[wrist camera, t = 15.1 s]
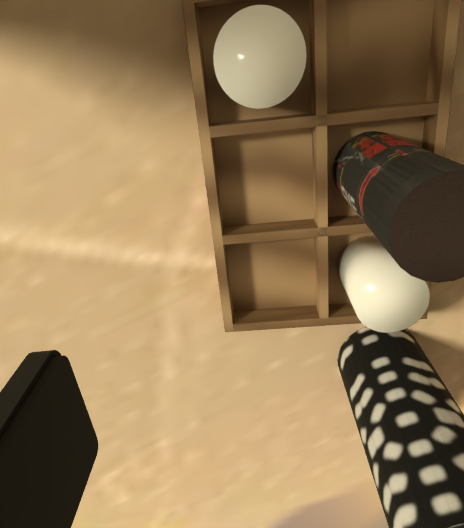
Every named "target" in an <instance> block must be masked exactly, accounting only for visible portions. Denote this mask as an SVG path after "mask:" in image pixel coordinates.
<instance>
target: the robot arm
mask: <svg viewBox="0 0 464 528" xmlns="http://www.w3.org/2000/svg"><path fill="white" fill-rule="evenodd" d="M97 451H98V440H97V436H96V434H95V431H94V428H93V425H92V422H91V420H90V417H89V414H88V411H87V409H86V406H85V403H84V400H83V398H82V395H81V392H80V389H79V387H78V384H77V381H76V378H75V376H74V373H73V370H72V367H71V365H70V362H69V360H68V358H67V357H66V356H61V354H60V353H59V352H58V351H56V350H51V351H41V352H32V353H29V354H28V355H27V356H26V358H25V359H24V360H23V362H22V363H21V365H20V366H19V367H18V369H17V370H16V371H15V373H14V374H13V376H12V377H11V378H10V380H9V381H8V382H7V384H6V385H5V387H4V388H3V389H2V391H1V392H0V528H71V526H72V523H73V520H74V517H75V515H76V512H77V509H78V506H79V503H80V501H81V498H82V495H83V492H84V489H85V487H86V484H87V481H88V478H89V475H90V473H91V470H92V467H93V464H94V461H95V459H96V456H97Z"/></svg>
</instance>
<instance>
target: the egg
mask: <svg viewBox="0 0 464 528" xmlns="http://www.w3.org/2000/svg"><path fill="white" fill-rule="evenodd" d="M213 61H214V69H215V73H216V77H217V79H218V82H219V84H220V85H221V87H222V89H223V90H224V91H225V93H226V94H227V95H228V96H229V97H230V98H231V99H233V100H234V101H235V102H237V103H239V104H240V105H243V106H245V107H249V108H256V109H260V108H268V107H271V106H274V105H277V104H279V103H280V102H282V101H284V100H285V99H286V98H287V97H289V96H290V95H291V94H292V93H293V91H294V90H295V89H296V87H297V86H298V84H299V82H300V81H301V78H302V76H303V73H304V70H305V65H306V45H305V41H304V38H303V35H302V32H301V30H300V28H299V27H298V25H297V24H296V22H295V21H294V20H293V19H292V18H291V17H290V16H289V15H288V14H287V13H285V12H284V11H282V10H281V9H278V8H276V7H273V6H269V5H254V6H249V7H247V8H244V9H242V10H240V11H238V12H237V13H235V14H234V15H233V16H232V17H231V18H229V19H228V20H227V22H226V23H225V24H224V25H223V27H222V29H221V30H220V32H219V35H218V37H217V40H216V43H215V47H214V55H213Z"/></svg>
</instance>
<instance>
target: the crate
mask: <svg viewBox="0 0 464 528" xmlns="http://www.w3.org/2000/svg"><path fill="white" fill-rule="evenodd" d="M461 1H462V0H182V6H183V14H184V21H185V29H186V37H187V44H188V52H189V60H190V67H191V75H192V83H193V90H194V98H195V106H196V113H197V121H198V129H199V136H200V144H201V152H202V159H203V167H204V175H205V182H206V190H207V197H208V205H209V213H210V220H211V228H212V236H213V243H214V251H215V259H216V266H217V274H218V282H219V289H220V297H221V305H222V312H223V320H224V328H225V332H235V331H250V330H265V329H280V328H295V327H310V326H325V325H340V324H354V323H362V322H361V321H360V320H359V318H358V317H357V315H356V312H355V310H354V308H353V306H352V304H351V302H350V299H349V297H348V295H347V293H346V291H345V288H344V286H343V284H342V282H341V280H340V277H339V275H338V272H337V260H338V257H339V255H340V253H341V251H342V250H343V248H344V247H345V246H346V245H347V244H348V243H350V242H351V241H353V240H355V239H356V238H359V237H362V236H367V235H374V234H373V233H372V231H371V230H370V229H369V228H368V226H367V225H366V224H365V223H364V222H363V220H362V219H361V218H360V217H359V215H358V214H357V213H356V212H355V210H354V209H353V208H352V207H351V205H350V204H349V203H348V202H347V200H346V199H345V198H344V197H343V195H342V194H341V193H340V191H339V190H338V189H337V187H336V185H335V182H334V179H333V165H334V160H335V158H336V156H337V154H338V152H339V150H340V149H341V147H342V146H343V145H344V144H345V143H346V142H347V141H348V140H350V139H351V138H352V137H354V136H356V135H358V134H361V133H363V132H369V131H378V132H384V133H386V134H389V135H391V136H393V137H396V138H398V139H401V140H403V141H406V142H408V143H410V144H413V145H415V146H418V147H420V148H423V149H425V150H428V151H430V152H432V153H435V154H437V155H440V156H442V157H445V147H446V138H447V129H448V120H449V111H450V102H451V92H452V83H453V74H454V65H455V56H456V47H457V37H458V28H459V19H460V10H461ZM254 5H269V6H273V7H276V8H278V9H281V10H282V11H284V12H285V13H287V14H288V15H289V16H290V17H291V18H292V19H293V20H294V21H295V22H296V24H297V25H298V27H299V28H300V30H301V32H302V35H303V38H304V41H305V45H306V65H305V70H304V73H303V76H302V78H301V81H300V82H299V84H298V86H297V87H296V89H295V90H294V91H293V93H292V94H291V95H290V96H289V97H287V98H286V99H285V100H284V101H282V102H280V103H279V104H277V105H274V106H271V107H268V108H260V109H256V108H249V107H245V106H243V105H240V104H239V103H237V102H235V101H234V100H233V99H231V98H230V97H229V96H228V95H227V94H226V93H225V91H224V90H223V89H222V87H221V85H220V84H219V82H218V79H217V77H216V73H215V69H214V61H213V55H214V47H215V43H216V40H217V37H218V35H219V32H220V30H221V29H222V27H223V25H224V24H225V23H226V22H227V20H228V19H229V18H231V17H232V16H233V15H234V14H235V13H237V12H238V11H240V10H242V9H244V8H247V7H249V6H254ZM425 282H426V284H427V286H428V288H429V293H430V285H431V281H425ZM427 313H428V307H427V309H426V311H425V313H424V314H423V316H422V317H421V318H420V319H427Z"/></svg>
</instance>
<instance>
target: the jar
mask: <svg viewBox="0 0 464 528" xmlns="http://www.w3.org/2000/svg"><path fill="white" fill-rule="evenodd" d="M337 272H338V275H339V277H340V280H341V282H342V284H343V286H344V288H345V291H346V293H347V295H348V297H349V299H350V302H351V304H352V306H353V308H354V310H355V312H356V315H357V317H358V318H359V320H360V321H361V322H362V323H363V324H364V325H365V326H366V327H368V328H370V329H372V330H374V331H378V332H385V333H390V332H397V331H400V330H403V329H406V328H408V327H410V326H411V325H413V324H414V323H416V322H417V321H418V320H419V319H420V318H421V317H422V316H423V314H424V313H425V311H426V309H427V307H428V304H429V300H430V293H429V288H428V286H427V284H426V282H425V281H423V280H421V279H418V278H415V277H413V276H411V275H409V274H408V273H407V272H405V271H404V270H403V269H402V268H400V266H399V265H398V264H397V263H396V261H395V260H394V259H393V258H392V256H391V255H390V254H389V253H388V251H387V250H386V249H385V248H384V246H383V245H382V244H381V243H380V241H379V240H378V239H377V238H376V236H375V235H367V236H362V237H359V238H356V239H355V240H353V241H351V242H350V243H348V244H347V245H346V246H345V247H344V248H343V250H342V251H341V253H340V255H339V257H338V260H337Z"/></svg>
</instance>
